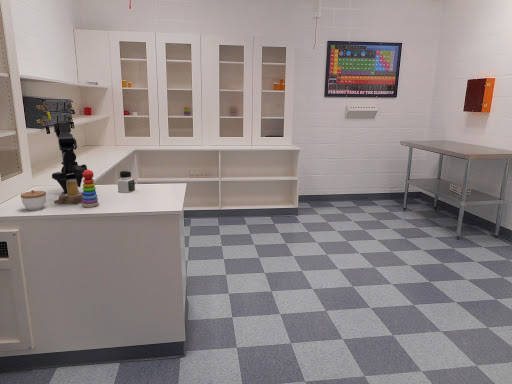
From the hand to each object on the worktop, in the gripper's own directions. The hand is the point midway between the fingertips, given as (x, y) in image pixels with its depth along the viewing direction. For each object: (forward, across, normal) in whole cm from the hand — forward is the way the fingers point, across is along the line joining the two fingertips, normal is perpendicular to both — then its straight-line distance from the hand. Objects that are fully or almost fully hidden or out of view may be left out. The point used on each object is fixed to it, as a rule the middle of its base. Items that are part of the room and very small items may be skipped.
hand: (72, 189), depth 200 cm
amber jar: (+3, 0, 0) cm, 3 cm away
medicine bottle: (+6, +28, -12) cm, 31 cm away
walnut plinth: (+6, 0, 0) cm, 6 cm away
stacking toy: (+6, -4, -16) cm, 18 cm away
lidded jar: (+6, -18, +6) cm, 20 cm away
